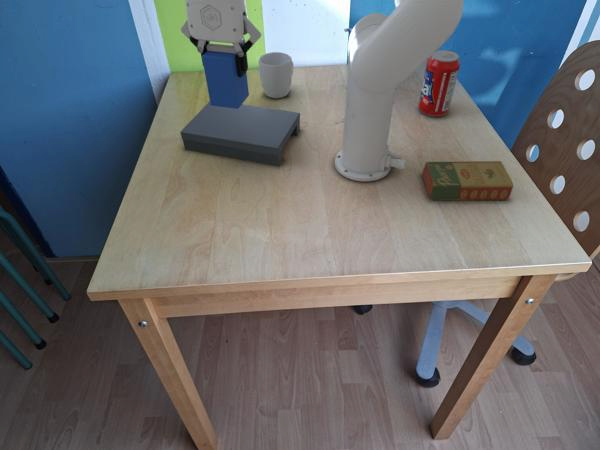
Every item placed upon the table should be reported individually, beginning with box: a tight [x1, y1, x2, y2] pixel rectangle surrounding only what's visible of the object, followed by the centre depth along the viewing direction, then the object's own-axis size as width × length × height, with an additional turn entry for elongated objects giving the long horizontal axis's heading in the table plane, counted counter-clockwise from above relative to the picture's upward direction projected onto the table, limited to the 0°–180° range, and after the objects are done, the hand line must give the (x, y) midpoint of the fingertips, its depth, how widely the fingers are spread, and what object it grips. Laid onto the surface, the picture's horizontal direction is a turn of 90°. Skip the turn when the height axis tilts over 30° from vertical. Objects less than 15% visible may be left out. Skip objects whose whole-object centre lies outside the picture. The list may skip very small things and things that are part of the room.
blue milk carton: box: [201, 42, 250, 109], centre depth 83 cm, size 6×6×11 cm
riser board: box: [179, 100, 301, 167], centre depth 102 cm, size 24×16×5 cm, turn 72°
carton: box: [421, 160, 514, 201], centre depth 88 cm, size 8×16×4 cm, turn 89°
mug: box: [258, 51, 295, 99], centre depth 119 cm, size 13×9×10 cm
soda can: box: [418, 49, 461, 118], centre depth 107 cm, size 8×8×15 cm
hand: (226, 71), depth 82 cm, fingers closed on blue milk carton, 6 cm apart
